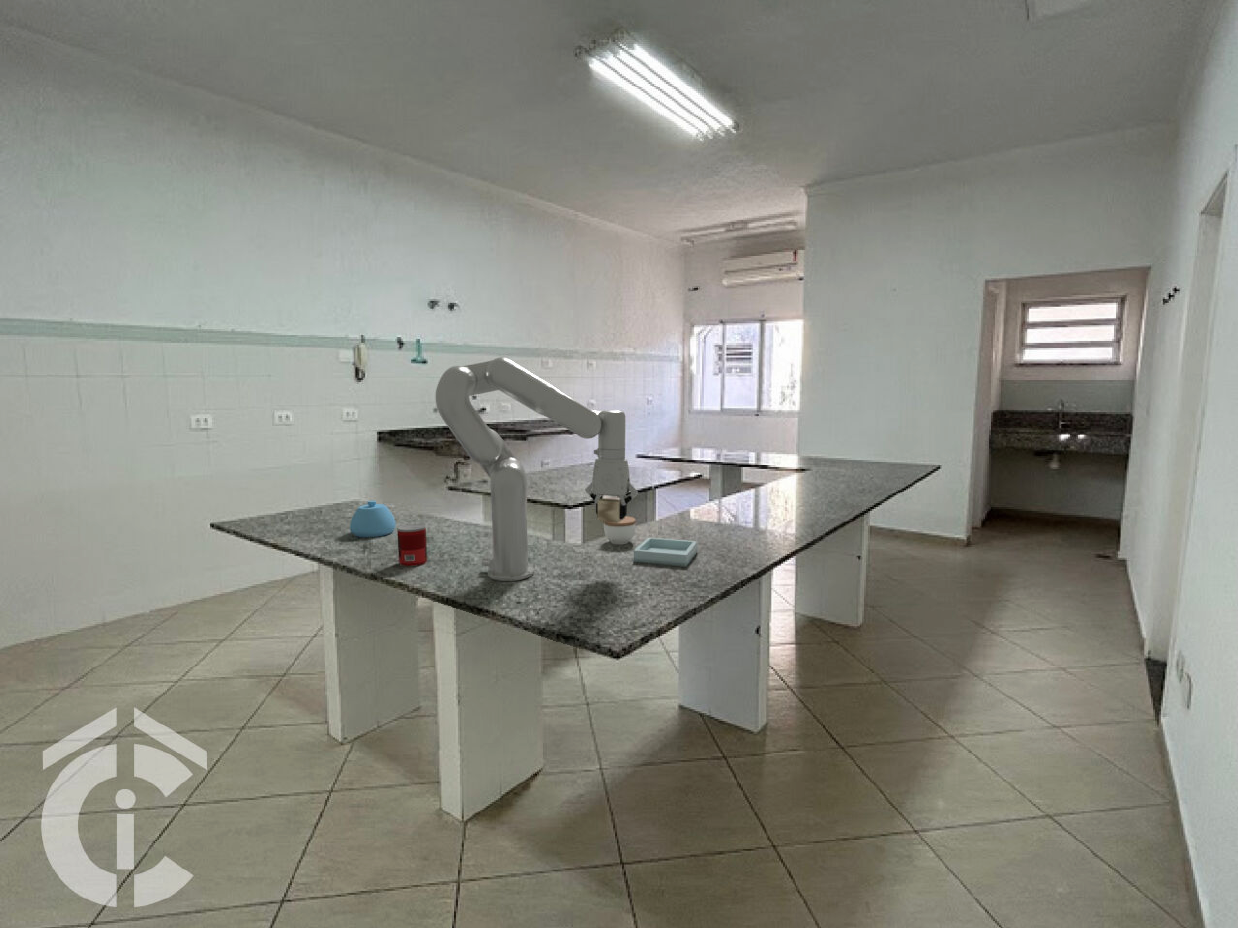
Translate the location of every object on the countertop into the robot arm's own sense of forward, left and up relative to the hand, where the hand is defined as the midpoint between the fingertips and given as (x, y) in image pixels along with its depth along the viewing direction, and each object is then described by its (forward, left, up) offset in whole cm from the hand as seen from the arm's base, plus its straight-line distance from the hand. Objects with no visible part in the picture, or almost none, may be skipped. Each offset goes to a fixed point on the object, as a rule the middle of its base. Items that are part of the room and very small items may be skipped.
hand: (611, 516), depth 176 cm
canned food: (-58, -13, -15) cm, 61 cm away
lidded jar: (-7, +28, -15) cm, 33 cm away
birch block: (0, 0, -1) cm, 1 cm away
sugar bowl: (-94, +13, -15) cm, 96 cm away
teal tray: (+12, +16, -15) cm, 25 cm away
